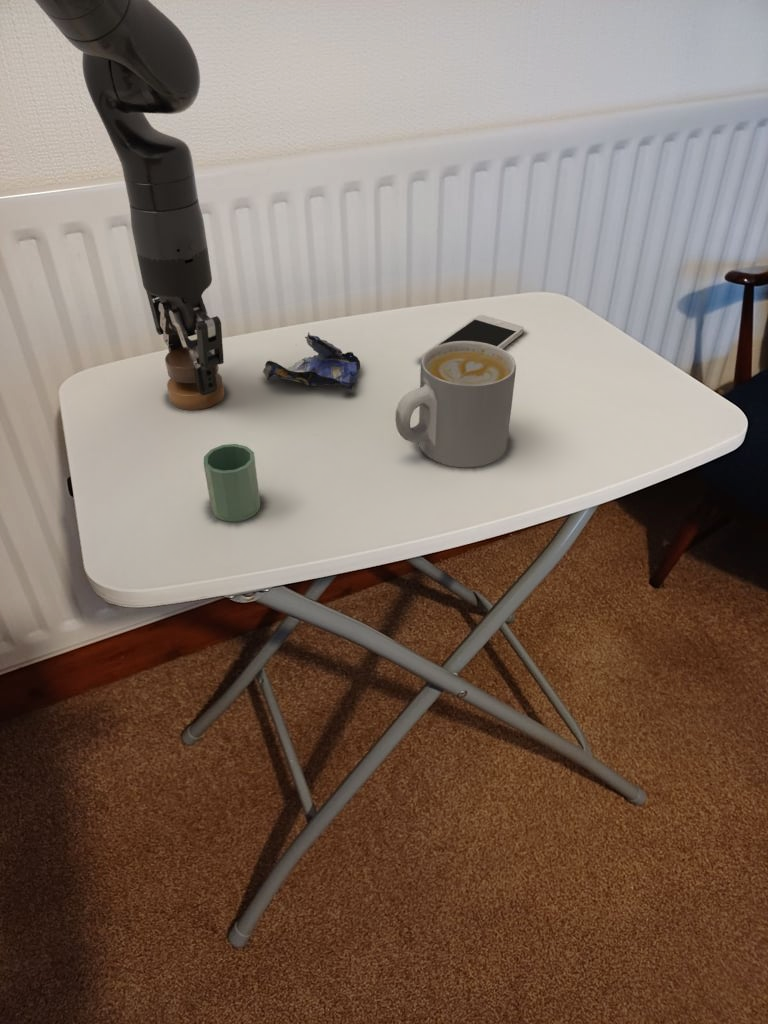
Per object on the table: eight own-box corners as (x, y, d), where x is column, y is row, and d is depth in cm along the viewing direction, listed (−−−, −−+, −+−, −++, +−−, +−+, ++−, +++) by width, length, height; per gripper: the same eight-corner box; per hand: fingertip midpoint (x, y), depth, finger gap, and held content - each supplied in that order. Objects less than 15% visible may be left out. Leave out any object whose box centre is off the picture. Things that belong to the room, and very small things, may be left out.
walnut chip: (201, 387, 91) (199, 371, 90) (157, 378, 93) (154, 362, 92) (228, 364, 95) (225, 349, 94) (185, 356, 97) (183, 341, 96)
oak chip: (206, 414, 93) (203, 399, 92) (159, 404, 95) (156, 389, 94) (234, 388, 98) (232, 374, 96) (188, 379, 100) (186, 364, 98)
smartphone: (524, 332, 110) (525, 325, 109) (467, 376, 100) (468, 369, 99) (479, 319, 113) (480, 313, 112) (421, 361, 103) (421, 354, 102)
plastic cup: (245, 526, 77) (238, 476, 73) (203, 515, 78) (194, 466, 74) (268, 498, 80) (263, 449, 76) (227, 488, 82) (220, 440, 78)
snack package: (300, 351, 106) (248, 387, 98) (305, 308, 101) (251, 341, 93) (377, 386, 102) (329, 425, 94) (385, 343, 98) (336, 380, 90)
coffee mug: (485, 412, 93) (492, 335, 87) (522, 458, 86) (532, 377, 80) (377, 432, 90) (377, 352, 84) (406, 480, 83) (408, 398, 76)
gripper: (110, 233, 87) (140, 368, 98) (169, 272, 78) (195, 416, 89) (172, 219, 91) (194, 351, 101) (235, 255, 82) (252, 395, 92)
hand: (195, 381), depth 95 cm, fingers closed on walnut chip, 6 cm apart
